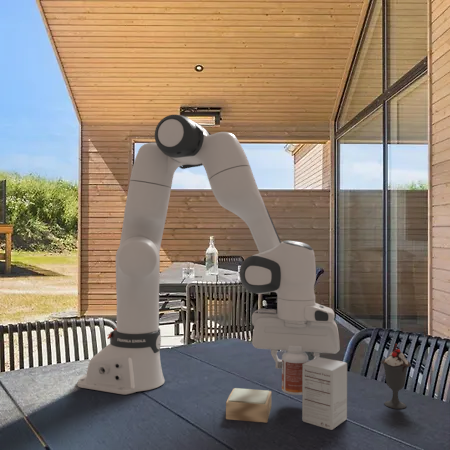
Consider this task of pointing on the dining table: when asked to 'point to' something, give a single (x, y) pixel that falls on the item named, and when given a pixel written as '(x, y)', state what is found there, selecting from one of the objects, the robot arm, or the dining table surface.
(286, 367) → the pill bottle
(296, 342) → the robot arm
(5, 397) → the dining table surface
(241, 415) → the plinth
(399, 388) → the sundae
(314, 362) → the supplement box
